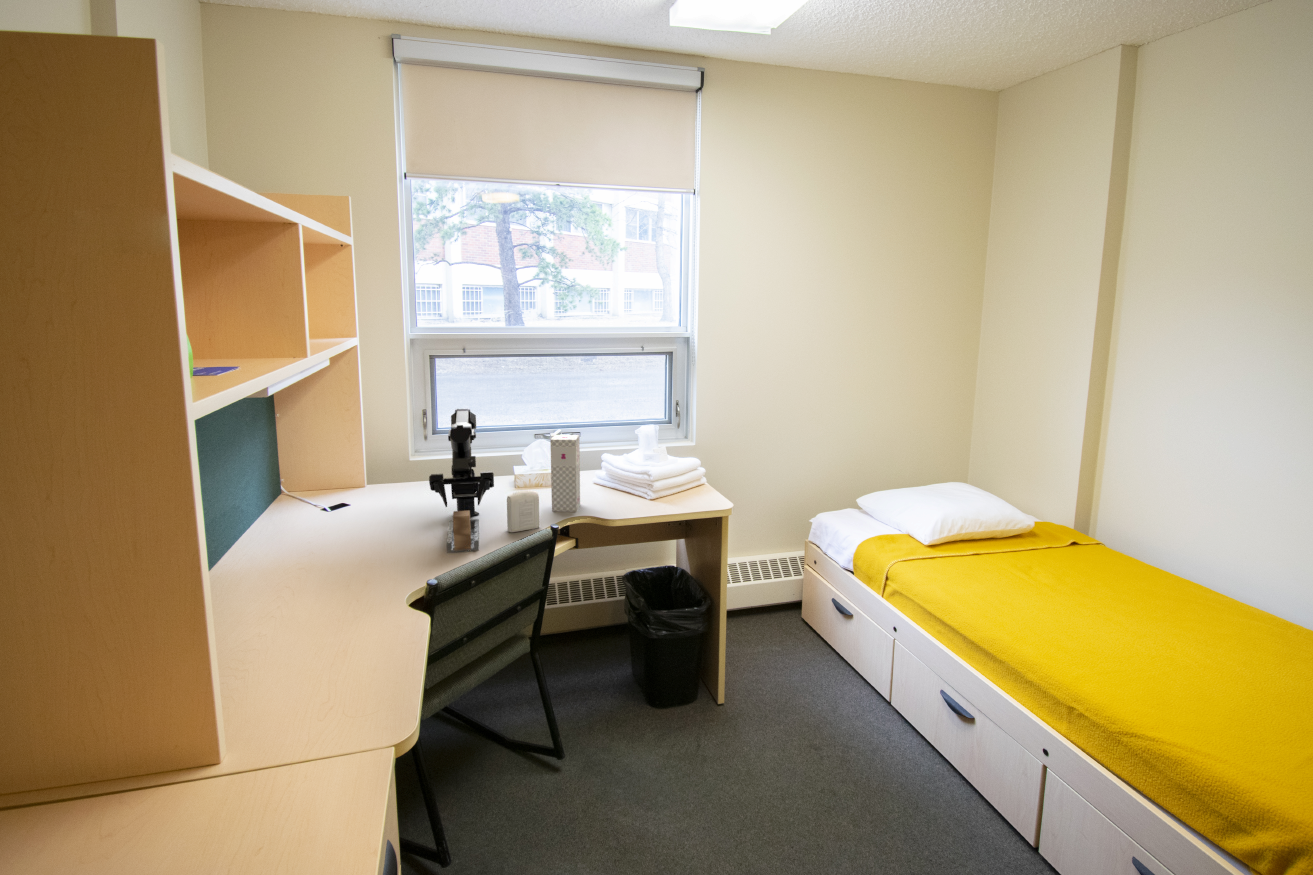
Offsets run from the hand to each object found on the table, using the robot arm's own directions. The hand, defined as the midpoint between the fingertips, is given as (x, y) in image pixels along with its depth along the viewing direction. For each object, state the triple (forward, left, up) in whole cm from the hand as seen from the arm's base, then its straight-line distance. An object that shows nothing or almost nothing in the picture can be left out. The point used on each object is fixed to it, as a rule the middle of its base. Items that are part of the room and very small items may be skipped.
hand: (462, 505), depth 203 cm
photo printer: (+3, +19, -11) cm, 22 cm away
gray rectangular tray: (0, 0, -11) cm, 11 cm away
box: (-7, +42, -11) cm, 43 cm away
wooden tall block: (+7, -4, -10) cm, 13 cm away
